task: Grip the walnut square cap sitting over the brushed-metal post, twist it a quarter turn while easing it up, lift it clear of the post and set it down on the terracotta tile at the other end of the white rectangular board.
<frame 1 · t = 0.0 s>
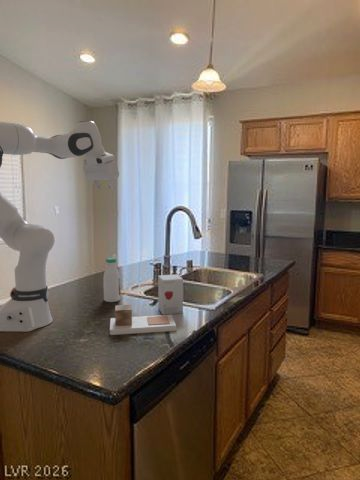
hand: (105, 188, 166), 52 cm above the worktop, tool tilted 20°, fingers open, 8 cm apart
supplement box: (170, 311, 158), on the worktop
white rectangular board: (142, 326, 140), on the worktop
milk bottle: (112, 300, 174), on the worktop
metal post: (123, 317, 138), on the white rectangular board, point 4 cm above the worktop
walnut cap: (123, 315, 138), on the white rectangular board, point 5 cm above the worktop
terracotta tile: (158, 320, 141), resting on white rectangular board
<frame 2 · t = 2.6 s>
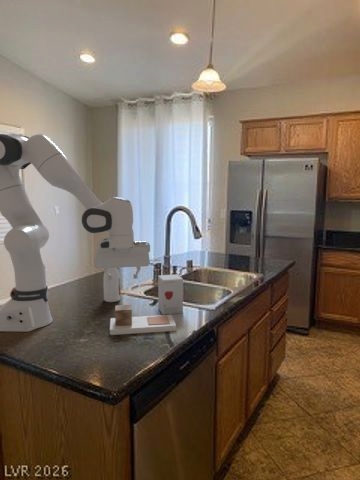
hand: (122, 278, 136), 19 cm above the worktop, tool pointing down, fingers open, 8 cm apart
nothing on the worktop moved.
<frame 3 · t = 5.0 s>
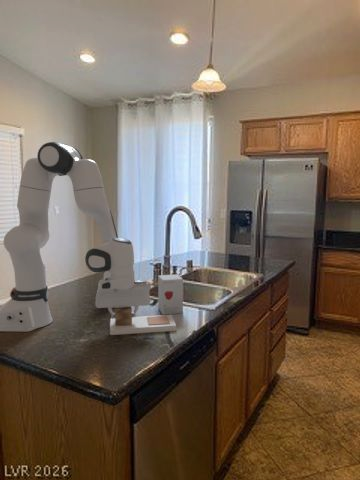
hand: (123, 317, 138), 4 cm above the worktop, tool pointing down, fingers closed on walnut cap, 6 cm apart
walnut cap: (123, 315, 138), on the white rectangular board, point 5 cm above the worktop, touching gripper
everything else where it was.
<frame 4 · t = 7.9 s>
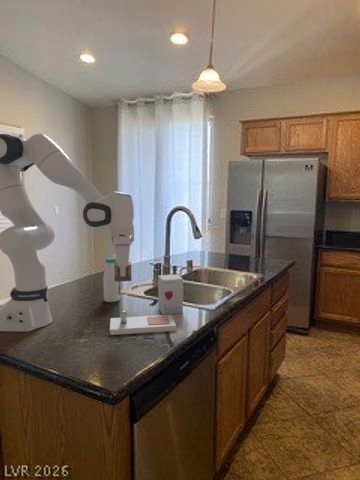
hand: (122, 273, 136), 21 cm above the worktop, tool pointing down, fingers closed on walnut cap, 6 cm apart
walnut cap: (122, 271, 136), point 22 cm above the worktop, touching gripper
everything else where it was.
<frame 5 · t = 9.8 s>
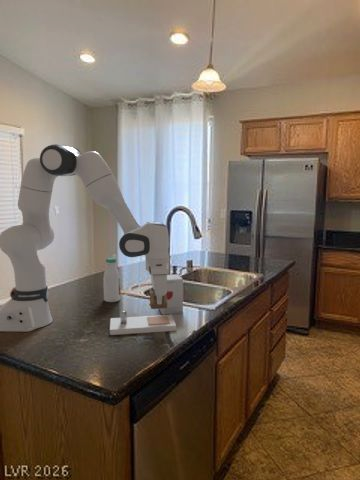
hand: (158, 300, 140), 10 cm above the worktop, tool pointing down, fingers closed on walnut cap, 6 cm apart
walnut cap: (158, 298, 140), point 11 cm above the worktop, touching gripper
everything else where it was.
when the fingers open (6 cm above the worktop, at t = 11.1 s): walnut cap drops 1 cm, resting on terracotta tile.
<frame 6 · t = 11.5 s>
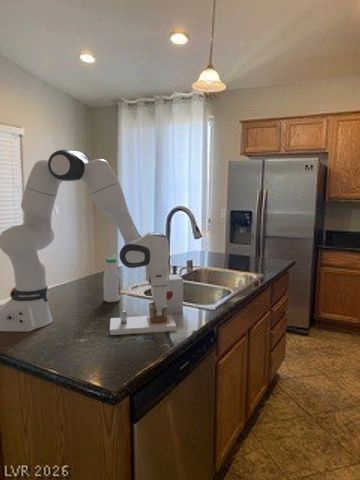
hand: (157, 311, 140), 6 cm above the worktop, tool pointing down, fingers open, 8 cm apart
walnut cap: (157, 312, 140), point 5 cm above the worktop, touching terracotta tile
everything else where it was.
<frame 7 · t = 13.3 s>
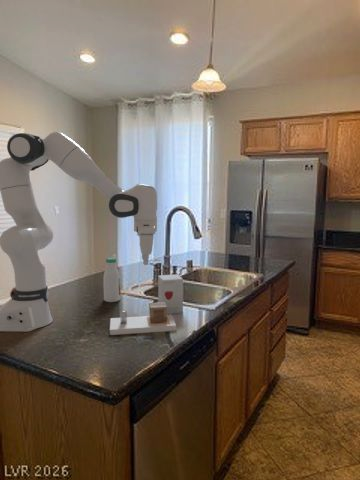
hand: (145, 261, 144), 24 cm above the worktop, tool pointing down, fingers open, 8 cm apart
nothing on the worktop moved.
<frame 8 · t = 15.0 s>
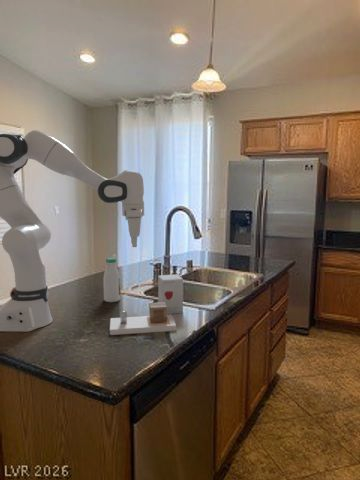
hand: (134, 245, 151), 29 cm above the worktop, tool pointing down, fingers open, 8 cm apart
nothing on the worktop moved.
at the end: walnut cap 0.0 cm off-centre on the terracotta tile, point 3.3 cm above the terracotta tile's base; walnut cap tilted 0°; the gripper is holding nothing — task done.
